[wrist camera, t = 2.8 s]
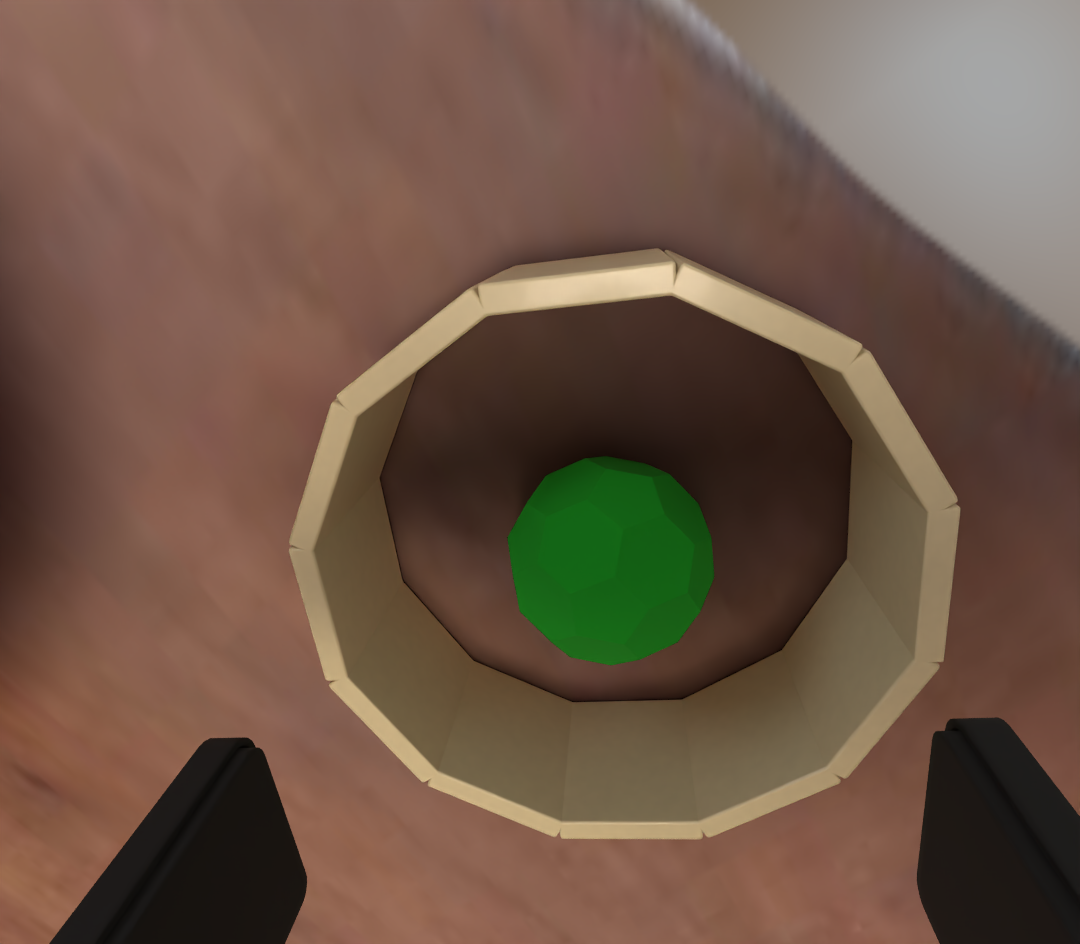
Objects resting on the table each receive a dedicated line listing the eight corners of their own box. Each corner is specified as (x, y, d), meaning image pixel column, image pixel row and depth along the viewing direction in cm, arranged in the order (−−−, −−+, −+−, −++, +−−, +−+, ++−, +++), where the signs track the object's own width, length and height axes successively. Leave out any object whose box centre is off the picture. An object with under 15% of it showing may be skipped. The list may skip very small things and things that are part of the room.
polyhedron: (568, 615, 20) (554, 731, 15) (490, 476, 18) (450, 560, 14) (727, 555, 19) (763, 663, 14) (656, 402, 17) (670, 468, 13)
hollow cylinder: (889, 219, 15) (994, 222, 11) (860, 710, 20) (924, 841, 16) (316, 289, 17) (218, 314, 13) (416, 719, 22) (370, 839, 18)
